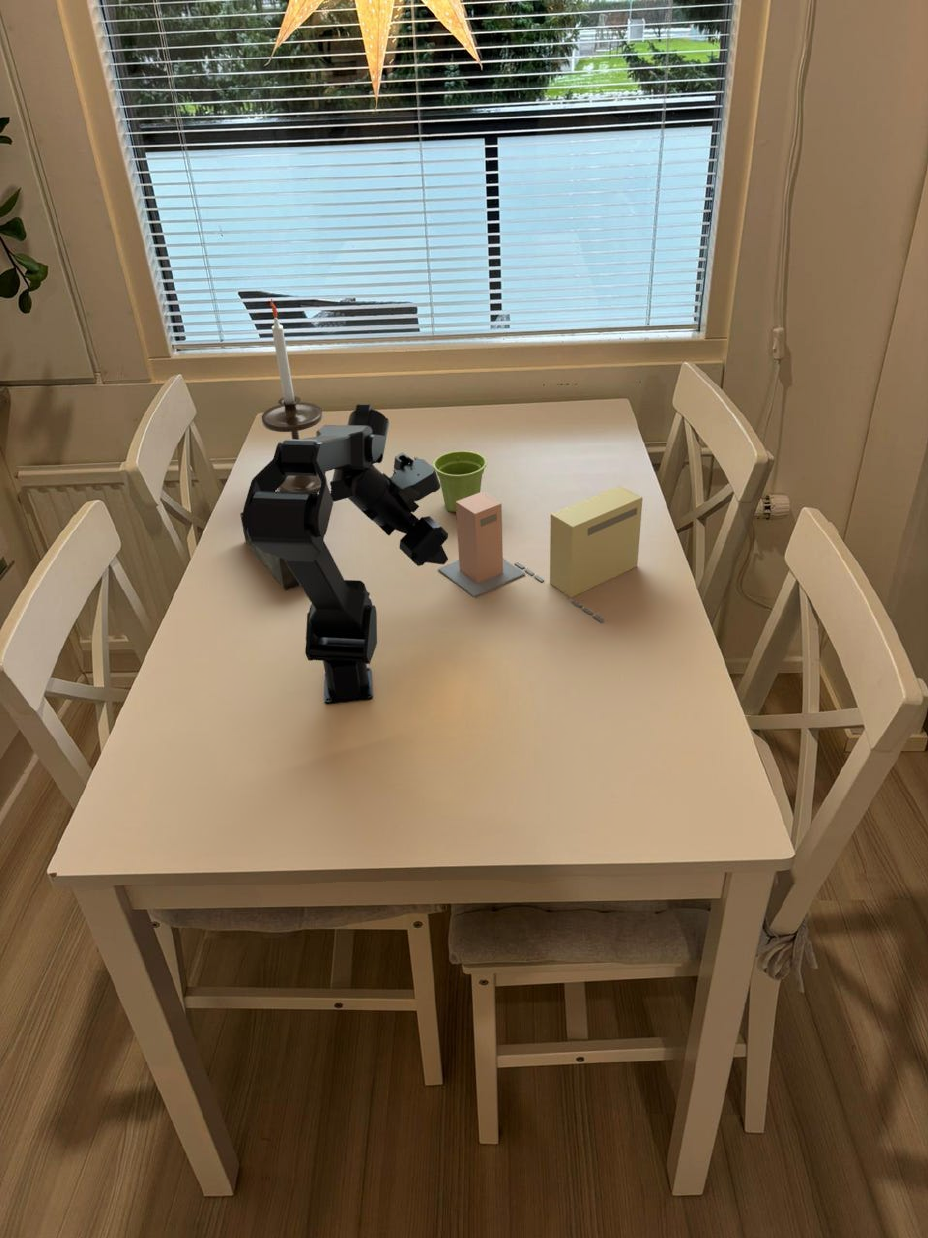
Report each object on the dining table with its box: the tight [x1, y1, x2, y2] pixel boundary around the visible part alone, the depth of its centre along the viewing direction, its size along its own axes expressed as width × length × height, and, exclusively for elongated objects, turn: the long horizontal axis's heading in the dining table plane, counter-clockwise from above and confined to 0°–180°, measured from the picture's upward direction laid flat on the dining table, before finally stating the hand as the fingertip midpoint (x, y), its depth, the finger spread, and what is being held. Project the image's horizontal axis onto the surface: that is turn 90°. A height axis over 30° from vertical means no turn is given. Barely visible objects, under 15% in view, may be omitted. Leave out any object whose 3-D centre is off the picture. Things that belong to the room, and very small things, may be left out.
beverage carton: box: [240, 511, 300, 590], centre depth 154 cm, size 8×19×7 cm, turn 30°
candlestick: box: [261, 298, 328, 494], centre depth 167 cm, size 11×11×35 cm
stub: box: [455, 491, 504, 583], centre depth 145 cm, size 5×5×12 cm
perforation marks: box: [514, 561, 605, 624], centre depth 144 cm, size 1×21×1 cm, turn 35°
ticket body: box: [549, 485, 643, 598], centre depth 144 cm, size 14×5×12 cm, turn 125°
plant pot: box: [432, 450, 488, 513], centre depth 165 cm, size 9×9×9 cm
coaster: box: [437, 558, 526, 598], centre depth 149 cm, size 10×10×1 cm
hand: (430, 546), depth 140 cm, fingers open, 9 cm apart
